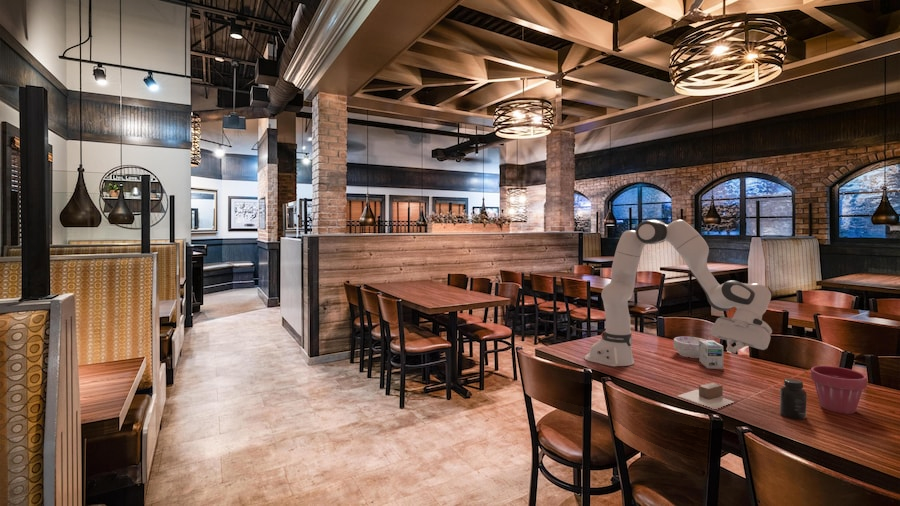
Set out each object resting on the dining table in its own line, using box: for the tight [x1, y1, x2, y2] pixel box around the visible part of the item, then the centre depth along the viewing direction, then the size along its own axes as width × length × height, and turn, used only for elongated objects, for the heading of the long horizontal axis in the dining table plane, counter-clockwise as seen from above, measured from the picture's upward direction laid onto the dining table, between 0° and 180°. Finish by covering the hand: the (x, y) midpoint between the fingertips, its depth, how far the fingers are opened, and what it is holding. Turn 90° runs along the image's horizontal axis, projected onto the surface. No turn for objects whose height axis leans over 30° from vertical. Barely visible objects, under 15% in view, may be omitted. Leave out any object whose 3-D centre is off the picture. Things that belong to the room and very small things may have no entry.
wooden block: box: [698, 382, 724, 399], centre depth 157 cm, size 4×4×8 cm
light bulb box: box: [698, 339, 724, 370], centre depth 193 cm, size 11×7×11 cm, turn 168°
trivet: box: [676, 389, 735, 410], centre depth 154 cm, size 12×14×1 cm
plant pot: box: [810, 365, 868, 415], centre depth 144 cm, size 14×14×13 cm
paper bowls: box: [673, 336, 705, 359], centre depth 208 cm, size 15×15×8 cm
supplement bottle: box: [779, 378, 807, 421], centre depth 139 cm, size 7×7×12 cm
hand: (730, 351), depth 164 cm, fingers closed
